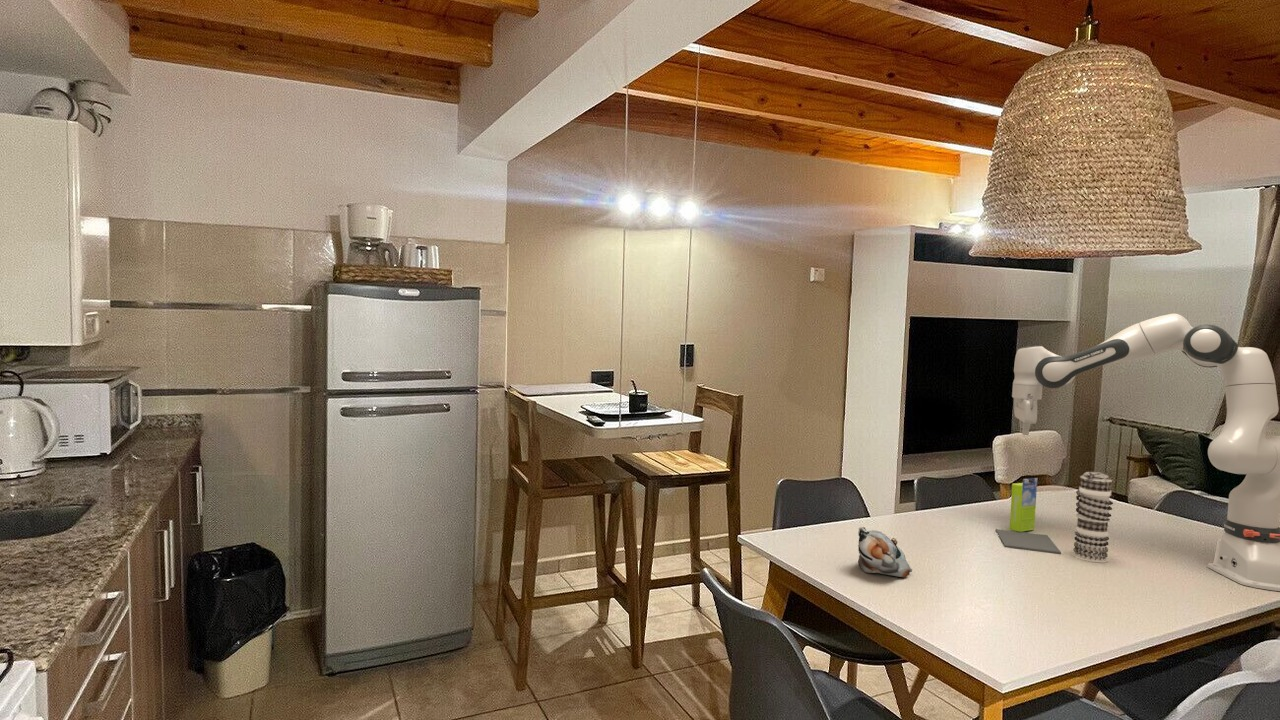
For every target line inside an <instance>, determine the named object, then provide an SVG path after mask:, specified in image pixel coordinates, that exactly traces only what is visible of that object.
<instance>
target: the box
mask: <svg viewBox="0 0 1280 720" xmlns="http://www.w3.org/2000/svg"><path fill="white" fill-rule="evenodd" d="M1030 481H1031V482H1030ZM1037 487H1038V477H1032V478H1023V479H1022V482H1016V483H1011V501H1010V515H1009V517H1010V518H1009V531H1016V532H1027V531H1033V530H1035V522H1036V508H1037V507H1036V505H1037V492H1038V490H1037V489H1038V488H1037Z"/></svg>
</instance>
